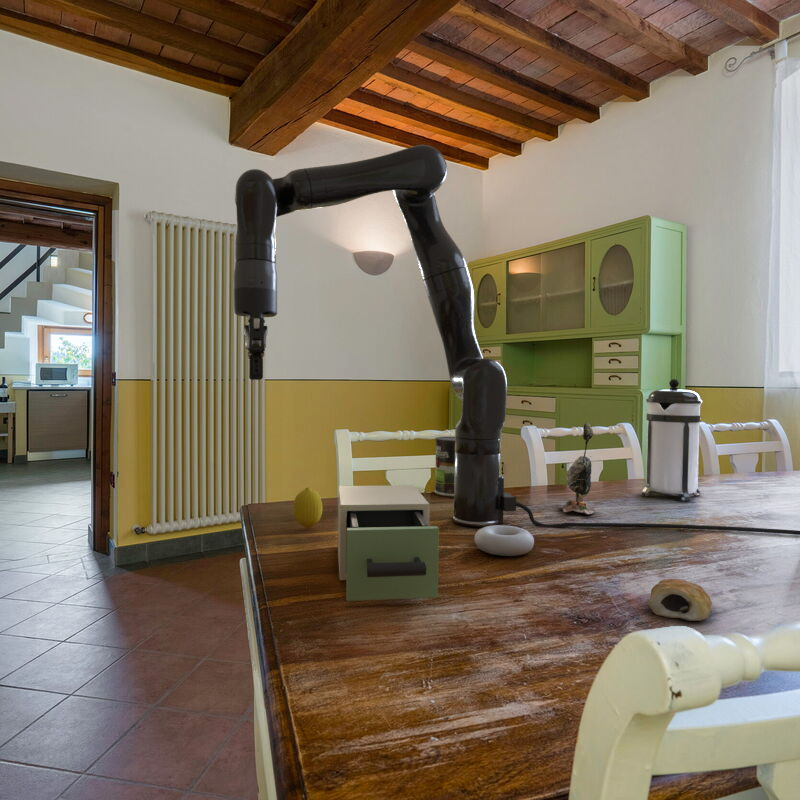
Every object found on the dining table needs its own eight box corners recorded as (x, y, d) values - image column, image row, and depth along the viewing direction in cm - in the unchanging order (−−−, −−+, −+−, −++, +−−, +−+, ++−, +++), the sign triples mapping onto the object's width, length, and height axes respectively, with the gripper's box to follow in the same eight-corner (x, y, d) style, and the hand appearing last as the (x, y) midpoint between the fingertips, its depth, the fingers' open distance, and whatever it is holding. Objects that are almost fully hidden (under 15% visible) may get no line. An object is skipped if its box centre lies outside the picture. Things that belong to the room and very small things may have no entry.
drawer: (444, 611, 68) (446, 537, 68) (347, 615, 66) (348, 539, 66) (420, 563, 86) (421, 505, 85) (343, 565, 84) (343, 506, 84)
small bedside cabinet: (428, 577, 82) (429, 503, 82) (339, 580, 81) (340, 504, 80) (413, 547, 97) (413, 485, 97) (337, 549, 95) (338, 485, 95)
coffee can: (446, 498, 139) (447, 440, 139) (427, 490, 149) (428, 437, 148) (482, 495, 143) (483, 439, 143) (462, 488, 153) (463, 436, 152)
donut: (462, 546, 99) (498, 562, 90) (463, 526, 99) (498, 540, 90) (508, 540, 103) (546, 553, 94) (508, 521, 103) (546, 533, 94)
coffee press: (720, 502, 138) (724, 379, 137) (654, 501, 138) (657, 378, 137) (685, 489, 155) (688, 379, 155) (626, 488, 156) (629, 379, 155)
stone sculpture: (600, 508, 130) (603, 421, 129) (591, 518, 120) (593, 424, 119) (565, 504, 134) (566, 419, 133) (552, 513, 124) (554, 422, 123)
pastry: (660, 591, 78) (661, 564, 78) (716, 603, 74) (717, 574, 74) (646, 613, 70) (647, 583, 70) (707, 628, 66) (708, 596, 66)
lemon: (316, 534, 105) (316, 491, 105) (288, 532, 106) (288, 489, 106) (326, 526, 110) (326, 485, 110) (299, 524, 112) (299, 484, 111)
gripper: (279, 283, 95) (279, 379, 96) (275, 295, 109) (275, 379, 110) (233, 280, 93) (233, 379, 94) (234, 293, 107) (234, 379, 108)
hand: (255, 379), depth 102 cm, fingers open, 8 cm apart
